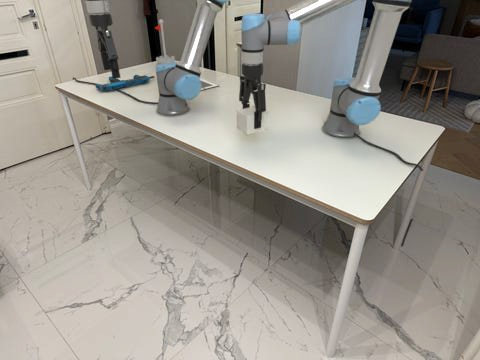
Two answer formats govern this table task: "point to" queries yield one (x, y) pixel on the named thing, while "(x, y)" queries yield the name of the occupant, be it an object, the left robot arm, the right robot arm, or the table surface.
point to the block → (250, 120)
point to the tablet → (207, 84)
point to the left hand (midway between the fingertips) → (112, 73)
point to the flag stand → (166, 58)
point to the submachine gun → (122, 82)
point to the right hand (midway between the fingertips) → (251, 124)
